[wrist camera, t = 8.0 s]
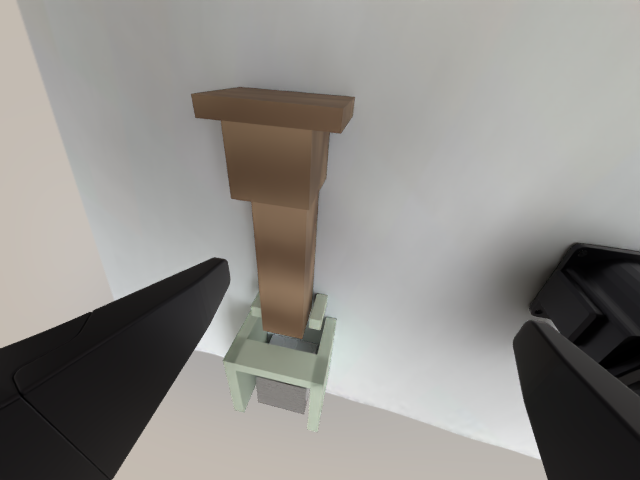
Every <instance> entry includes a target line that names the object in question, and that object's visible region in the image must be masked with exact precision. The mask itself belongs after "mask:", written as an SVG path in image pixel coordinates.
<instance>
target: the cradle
mask: <svg viewBox="0 0 640 480" xmlns="http://www.w3.org/2000/svg"><path fill="white" fill-rule="evenodd" d="M327 297H328V296H327V295H322V294H317V295H316V299H315V302H314V305H313V309H312V312H311V315H310V318H309V328H312V329H317V330H320V329H321V325H322V321H323V317H324V313H325V310H326V306H327ZM335 326H336V319H334V318H329V317H326V321H325V325H324V329H323V333H322V338H321V342H320V346H319V350H318V354H317V355H316V354H312V353H307V352H303V351H299V350H294V349H290V348H285V347H281V346H277V345H272V344H268V342H267V331H263V326H262V315H261V304H260V293H258V295H257V296H256V298H255V300H254V302H253V303H252V305H251V311H250V313H249V315H248V316H247V318H246V320H245V322H244V324H243V325H242V327H241V329H240V331H239V333H238V334H237V336H236V338H235V340H234V341H233V343H232V345H231V347H230V349H229V350H228V352H227V354H226V356H225V358H224V360H223V363H224V368H225V372H226V376H227V380H228V384H229V388H230V393H231V397H232V401H233V405H234V409H235V410H236V411H240V412H245V409H246V407H247V405H248V402H249V400H250V397H251V395H252V392H253V390H254V388H255V385H256V379H255V376H256V375H257V376H261V377H265V378H269V379H273V380H277V381H281V382H285V383H289V384H293V385H297V386H301V387H306V388H310V401H309V413H308V426H307V429H308V430H311V431H315V432H318V426H319V422H320V416H321V411H322V405H323V400H324V395H325V390H326V384H327V379H328V374H329V369H330V362H331V355H332V347H333V340H334V333H335Z"/></svg>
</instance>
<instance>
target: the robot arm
mask: <svg viewBox="0 0 640 480" xmlns="http://www.w3.org/2000/svg"><path fill="white" fill-rule="evenodd" d="M582 250H583V251H582ZM580 251H582V252H581V253H578V252H580ZM229 284H230V273H229V267H228V262H227V260H225V259H221V258H216V257H214V258H211V259H209V260H207V261H204V262H202V263H200V264H198V265H195V266H193V267H191V268H189V269H186V270H184V271H182V272H180V273H177V274H175V275H173V276H170V277H168V278H166V279H164V280H161V281H159V282H157V283H155V284H152V285H150V286H148V287H145V288H143V289H141V290H139V291H136V292H134V293H132V294H129V295H127V296H125V297H123V298H120V299H118V300H116V301H114V302H111V303H109V304H107V305H105V306H102V307H100V308H98V309H95V310H94V311H93V312H89V313H86V314H84V315H82V316H79V317H77V318H75V319H73V320H70V321H68V322H66V323H63V324H61V325H59V326H56V327H54V328H51V329H49V330H46V331H44V332H42V333H39V334H36V335H34V336H31V337H29V338H26V339H24V340H21V341H19V342H16V343H13V344H11V345H8V346H6V347H3V348H0V480H112V479H113V478H114V476H115V475H116V473H117V471H118V470H119V468H120V467H121V465H122V464H123V462H124V460H125V459H126V457H127V456H128V454H129V452H130V451H131V449H132V447H133V446H134V444H135V443H136V441H137V440H138V438H139V437H140V435H141V433H142V432H143V430H144V429H145V427H146V425H147V424H148V422H149V421H150V419H151V417H152V416H153V414H154V413H155V411H156V410H157V408H158V406H159V405H160V403H161V402H162V400H163V398H164V397H165V395H166V394H167V392H168V390H169V389H170V387H171V386H172V384H173V383H174V381H175V379H176V378H177V376H178V374H179V373H180V371H181V369H182V368H183V366H184V365H185V363H186V362H187V360H188V359H189V357H190V356H191V354H192V352H193V351H194V349H195V348H196V346H197V344H198V343H199V341H200V340H201V338H202V336H203V335H204V333H205V332H206V330H207V328H208V327H209V325H210V323H211V321H212V319H213V317H214V315H215V313H216V311H217V309H218V307H219V305H220V303H221V301H222V299H223V297H224V295H225V293H226V291H227V289H228V287H229ZM529 311H530V313H531V314H532V315H533V316H536V317H542V318H547V319H551V320H552V321H553V323H554V324H555V326H556V327H557V329H558V331H559V332H560V333H559V332H558V331H556V330H555V329H554V328H553V327H551V326H550V325H549V324H547V323H545V322H541V321H536V320H528V321H526V322H525V323H524V325H523V326H522V327H521V329H520V330H519V332H518V333H517V334H516V336H515V337H514V340H513V349H514V354H515V359H516V365H517V370H518V375H519V380H520V385H521V391H522V395H523V399H524V403H525V407H526V410H527V414H528V417H529V420H530V423H531V427H532V430H533V433H534V436H535V440H536V443H537V446H538V449H539V453H540V456H541V459H542V462H543V465H544V469H545V472H546V475H547V478H548V480H640V252H636V251H630V250H623V249H616V248H609V247H603V246H596V245H589V244H577V245H574V246H573V247H572V248H571V249H570V250H569V251H568V253H567V254H566V256H565V257H564V258H563V260H562V261H561V263H560V264H559V266H558V267H557V268H556V270H555V271H554V273H553V274H552V275H551V277H550V278H549V280H548V281H547V282H546V284H545V285H544V287H543V288H542V290H541V291H540V292H539V294H538V295H537V297H536V298H535V299H534V301H533V302H532V304H531V305H530V307H529Z"/></svg>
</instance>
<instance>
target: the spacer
mask: <svg viewBox="0 0 640 480" xmlns="http://www.w3.org/2000/svg"><path fill="white" fill-rule="evenodd" d="M269 344H272V345H277V346H281V347H285V348H290V349H294V350H299V351H303V352H307V353H312V354H316V352H317V344H315V343H311V342H306V341H302V340H297V339H293V338H289V337H284V336H280V335H275V334H273V336H272V338H271V340H270V343H269ZM255 379H256V387H257V395H258V402H260V403H264V404H267V405H271V406H275V407H279V408H283V409H286V410H290V411H293V412H297V413H301V414H304V412H305V408H306V404H307V399H308V395H309V391H310V388H306V387H301V386H297V385H293V384H289V383H285V382H281V381H277V380H273V379H269V378H265V377H261V376H257V375H256V376H255Z"/></svg>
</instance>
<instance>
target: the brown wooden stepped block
mask: <svg viewBox="0 0 640 480" xmlns="http://www.w3.org/2000/svg"><path fill="white" fill-rule="evenodd" d="M191 96H192V102H193V107H194V113H195V118H203V119H212V120H221V126H222V134H223V141H224V149H225V156H226V163H227V171H228V178H229V186H230V193H231V199H237V200H243V201H250V202H251V203H252V214H253V226H254V237H255V248H256V259H257V270H258V282H259V293H260V304H261V315H262V326H263V331H267V332H272V333H276V334H281V335H285V336H290V337H295V338H299V339H302V338H303V335H304V332H305V328H306V325H307V322H308V319H309V315H310V312H311V309H312V295H313V279H314V263H315V247H316V230H317V214H318V198H319V191H320V189H321V187H322V185H323V183H324V181H325V179H326V175H327V161H328V148H329V135H330V132H332V133H342V131H343V130H344V128H345V127H346V125H347V124H348V122H349V121H350V119H351V118H352V116H353V109H354V100H355V97H347V96H335V95H324V94H313V93H302V92H290V91H279V90H268V89H257V88H245V87H237V88H230V89H223V90H215V91H208V92H201V93H194V94H191Z"/></svg>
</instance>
